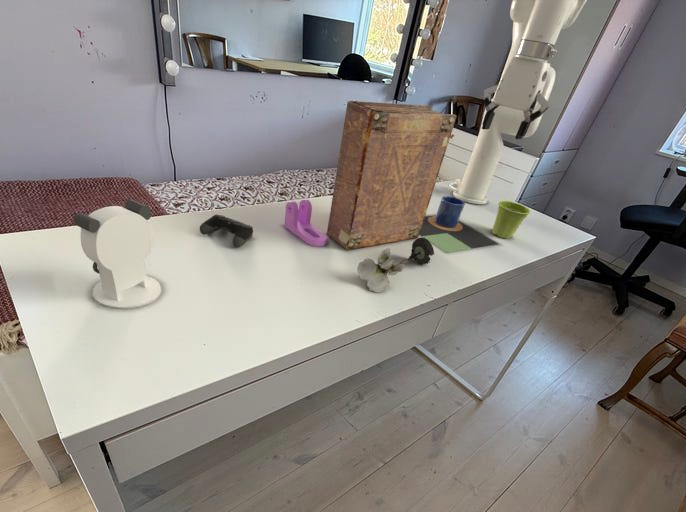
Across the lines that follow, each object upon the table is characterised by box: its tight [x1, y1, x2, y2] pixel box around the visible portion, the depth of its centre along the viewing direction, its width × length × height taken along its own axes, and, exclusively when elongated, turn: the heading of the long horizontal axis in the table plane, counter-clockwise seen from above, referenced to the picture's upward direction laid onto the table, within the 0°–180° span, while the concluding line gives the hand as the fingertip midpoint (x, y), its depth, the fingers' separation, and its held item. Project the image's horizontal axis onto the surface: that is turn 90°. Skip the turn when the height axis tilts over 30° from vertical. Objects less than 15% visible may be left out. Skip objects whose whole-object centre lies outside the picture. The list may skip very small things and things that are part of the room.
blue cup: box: [434, 195, 466, 228], centre depth 119 cm, size 7×7×7 cm
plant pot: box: [491, 200, 532, 240], centre depth 118 cm, size 9×9×9 cm
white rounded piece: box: [73, 198, 162, 310], centre depth 67 cm, size 12×11×15 cm
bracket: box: [283, 199, 328, 247], centre depth 98 cm, size 13×6×7 cm, turn 37°
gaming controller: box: [198, 214, 254, 248], centre depth 92 cm, size 12×8×5 cm, turn 63°
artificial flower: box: [356, 237, 435, 293], centre depth 89 cm, size 9×22×10 cm, turn 130°
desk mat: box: [419, 214, 499, 253], centre depth 116 cm, size 22×22×1 cm
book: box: [326, 100, 457, 251], centre depth 96 cm, size 25×9×30 cm, turn 123°
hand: (501, 133), depth 103 cm, fingers open, 9 cm apart
